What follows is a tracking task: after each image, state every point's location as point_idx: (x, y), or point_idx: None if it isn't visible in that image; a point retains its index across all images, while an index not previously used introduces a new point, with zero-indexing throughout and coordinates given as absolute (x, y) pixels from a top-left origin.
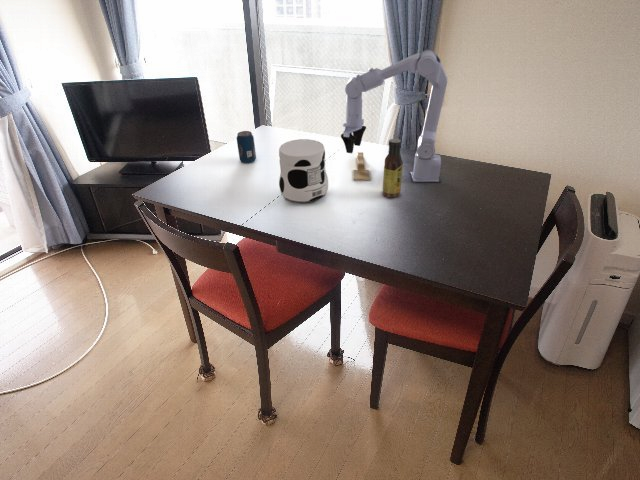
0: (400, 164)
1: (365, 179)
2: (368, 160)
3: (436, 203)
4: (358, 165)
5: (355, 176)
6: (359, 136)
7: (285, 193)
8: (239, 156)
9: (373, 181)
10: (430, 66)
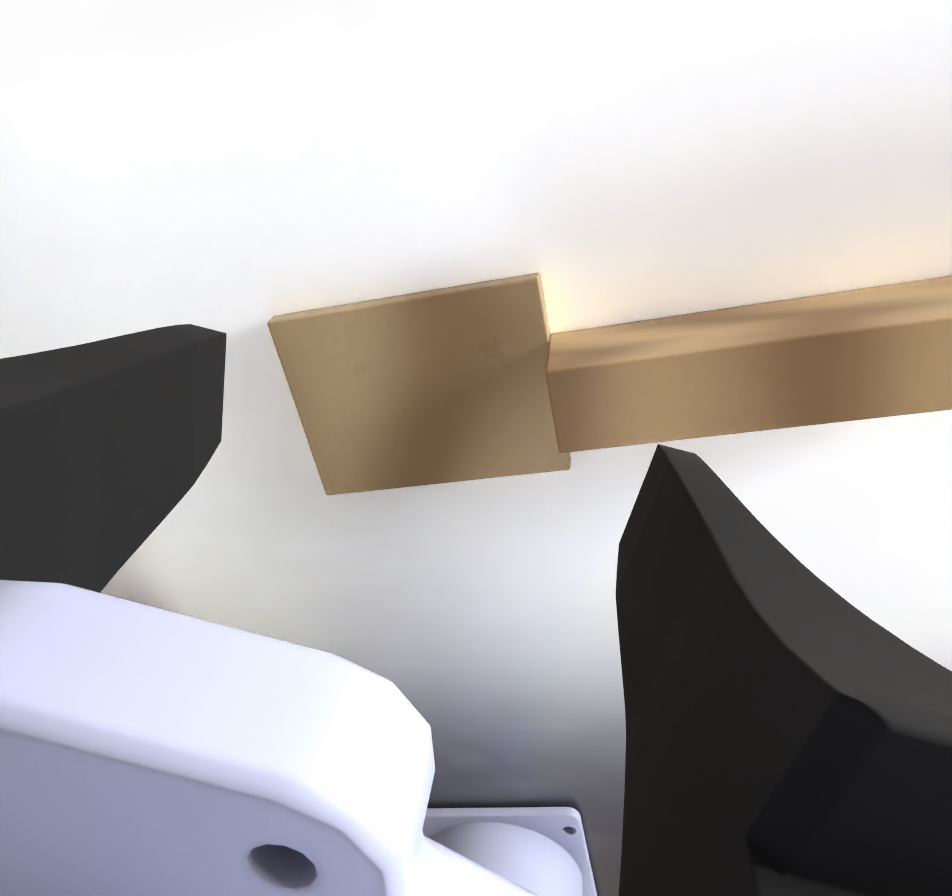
0: None
1: (313, 449)
2: (932, 433)
3: None
4: (546, 371)
5: (343, 331)
6: (647, 710)
7: None
8: None
9: (320, 521)
10: None
